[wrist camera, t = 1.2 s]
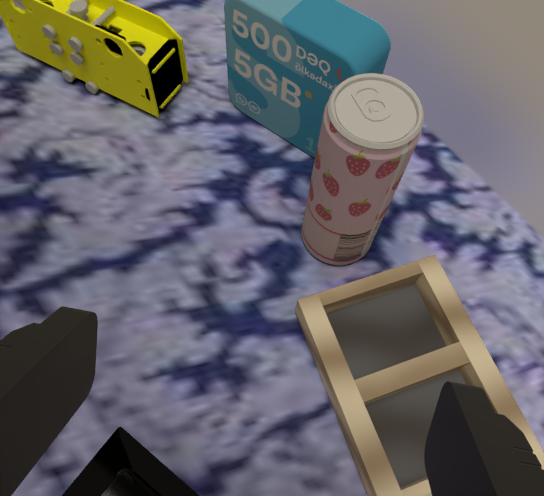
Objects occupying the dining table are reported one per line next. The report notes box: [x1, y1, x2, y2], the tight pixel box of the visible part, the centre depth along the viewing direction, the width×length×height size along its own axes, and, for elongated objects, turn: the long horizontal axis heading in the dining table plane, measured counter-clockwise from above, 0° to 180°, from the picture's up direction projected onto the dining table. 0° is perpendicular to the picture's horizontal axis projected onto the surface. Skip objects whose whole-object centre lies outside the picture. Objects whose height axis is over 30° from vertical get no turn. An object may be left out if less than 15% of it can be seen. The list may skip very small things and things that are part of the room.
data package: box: [224, 0, 391, 158], centre depth 41 cm, size 12×4×12 cm, turn 52°
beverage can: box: [302, 73, 424, 265], centre depth 35 cm, size 6×6×15 cm
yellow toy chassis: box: [0, 0, 189, 117], centre depth 45 cm, size 16×6×8 cm, turn 61°
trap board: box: [295, 255, 544, 496], centre depth 34 cm, size 22×11×3 cm, turn 20°
